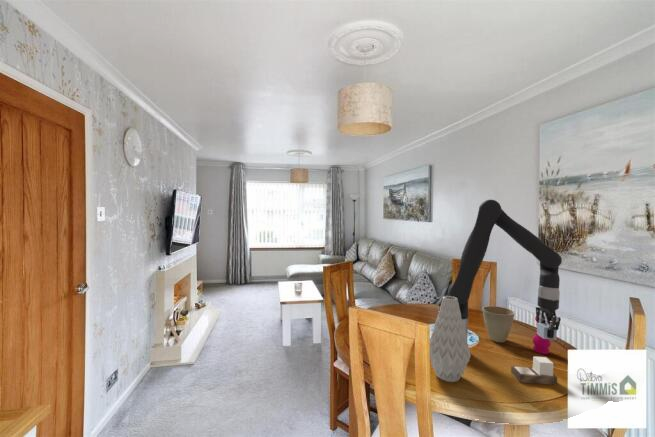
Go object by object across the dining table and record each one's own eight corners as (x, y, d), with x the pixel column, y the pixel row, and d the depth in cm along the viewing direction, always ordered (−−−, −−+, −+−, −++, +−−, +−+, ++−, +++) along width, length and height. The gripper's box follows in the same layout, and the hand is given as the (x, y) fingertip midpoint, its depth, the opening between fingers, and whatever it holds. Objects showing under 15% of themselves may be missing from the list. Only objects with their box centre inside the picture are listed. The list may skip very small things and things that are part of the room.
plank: (519, 382, 123) (519, 374, 123) (511, 372, 130) (511, 365, 130) (556, 384, 122) (557, 377, 122) (546, 375, 129) (546, 368, 129)
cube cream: (539, 374, 124) (540, 362, 123) (532, 368, 129) (533, 356, 128) (552, 375, 123) (553, 363, 123) (545, 369, 128) (545, 357, 128)
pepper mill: (545, 355, 146) (546, 314, 146) (529, 349, 153) (530, 309, 152) (553, 352, 150) (555, 312, 149) (537, 346, 156) (539, 307, 155)
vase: (430, 362, 138) (433, 289, 137) (471, 372, 130) (474, 296, 129) (421, 379, 124) (424, 299, 123) (466, 393, 115) (469, 306, 114)
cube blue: (543, 338, 131) (544, 327, 131) (536, 333, 136) (537, 322, 136) (556, 339, 131) (556, 328, 131) (548, 334, 136) (549, 323, 136)
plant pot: (502, 334, 171) (503, 305, 171) (519, 346, 157) (521, 315, 156) (476, 333, 171) (477, 305, 170) (491, 345, 156) (492, 314, 156)
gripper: (530, 291, 140) (528, 328, 141) (549, 301, 126) (547, 341, 127) (547, 292, 140) (545, 329, 140) (569, 302, 125) (566, 343, 126)
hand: (546, 335), depth 133 cm, fingers closed on cube blue, 5 cm apart
